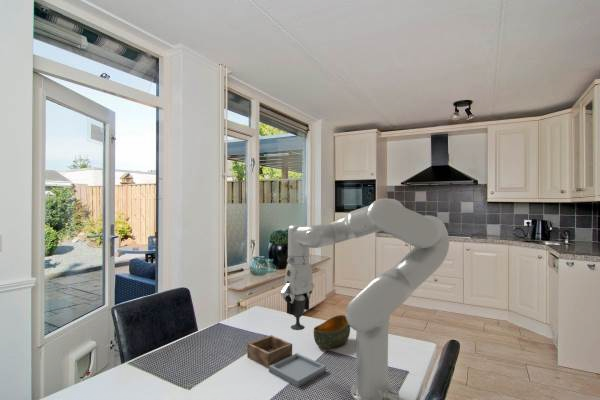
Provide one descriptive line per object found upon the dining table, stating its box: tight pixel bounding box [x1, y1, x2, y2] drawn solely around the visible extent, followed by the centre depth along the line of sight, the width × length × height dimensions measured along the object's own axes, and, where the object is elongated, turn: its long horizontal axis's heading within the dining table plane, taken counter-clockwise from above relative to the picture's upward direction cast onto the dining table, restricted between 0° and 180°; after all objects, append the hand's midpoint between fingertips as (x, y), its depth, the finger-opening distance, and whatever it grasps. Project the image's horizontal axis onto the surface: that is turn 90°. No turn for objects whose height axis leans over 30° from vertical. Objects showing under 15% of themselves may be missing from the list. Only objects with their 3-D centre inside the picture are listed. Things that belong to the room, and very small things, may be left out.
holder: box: [246, 334, 293, 369], centre depth 124 cm, size 12×12×5 cm
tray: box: [268, 352, 327, 388], centre depth 113 cm, size 14×14×2 cm
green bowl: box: [313, 314, 351, 351], centre depth 137 cm, size 13×20×10 cm, turn 104°
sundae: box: [290, 294, 308, 331], centre depth 114 cm, size 7×7×15 cm
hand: (298, 311), depth 114 cm, fingers closed on sundae, 6 cm apart
